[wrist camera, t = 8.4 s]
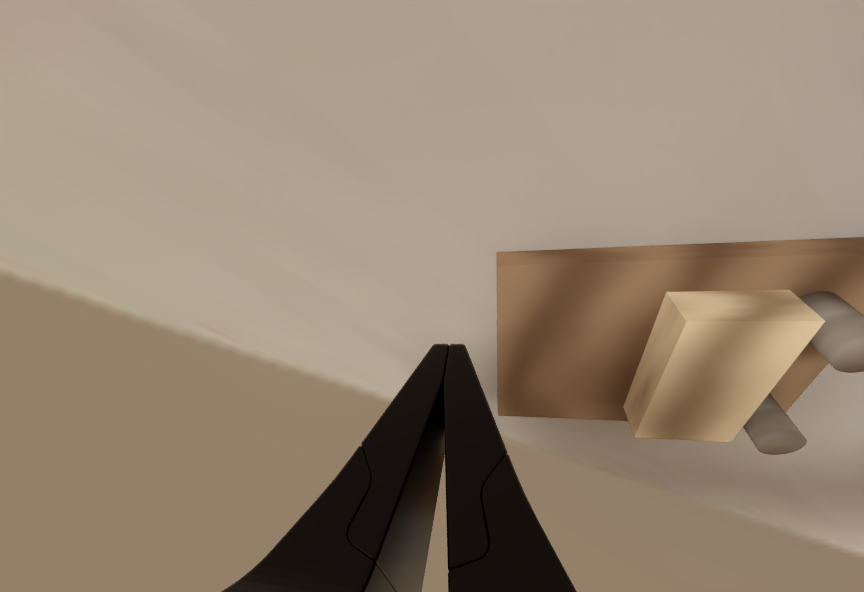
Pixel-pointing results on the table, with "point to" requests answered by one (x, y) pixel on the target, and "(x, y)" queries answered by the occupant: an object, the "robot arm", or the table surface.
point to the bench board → (636, 314)
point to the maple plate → (715, 361)
